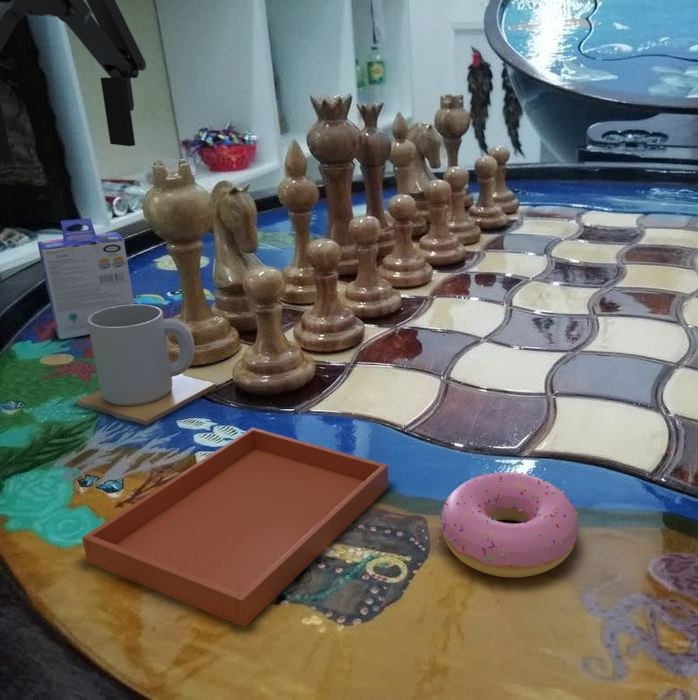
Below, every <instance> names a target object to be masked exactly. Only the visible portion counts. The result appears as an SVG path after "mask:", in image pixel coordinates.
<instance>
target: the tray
mask: <svg viewBox="0 0 698 700" xmlns="http://www.w3.org/2000/svg"><path fill="white" fill-rule="evenodd" d="M388 488H389V465H388V464H386V463H382V462H377V461H374V460H371V459H367V458H363V457H359V456H356V455H353V454H350V453H346V452H342V451H338V450H335V449H331V448H328V447H325V446H320V445H317V444H313V443H310V442H307V441H303V440H299V439H295V438H292V437H288V436H284V435H283V434H282V435H280V434H278V433H275V432H270V431H266V430H265V429H260V428H256V427H250V428H249V429H248V430H246V431H245V432H243V433H241V434H240V435H238V436H237V437H235V438H233V439H232V440H231V441H229V442H228V443H226V444H224V445H223V446H221V447H219V448H218V449H216V450H215V451H213V452H212V453H210V454H208V455H207V456H205V457H204V458H203V459H201V460H199V461H198V462H196V463H195V464H193V465H191V466H190V467H189V468H187V469H186V470H184V471H182V472H181V473H179V474H178V475H176V476H174V477H173V478H171V479H170V480H168V481H167V482H166V483H164V484H162V485H160V486H159V487H158V488H156V489H155V490H153V491H151V492H150V493H148V494H147V495H145V496H144V497H141V499H139V500H137V501H136V502H134V503H132V504H131V505H130V506H128V507H127V508H125V509H123V510H122V511H119V513H118V514H116V515H114V516H113V517H111V518H110V519H108V520H106V521H105V522H103V523H102V524H100V525H99V526H97V527H96V528H94V529H92V530H91V531H90V532H88V533H86V534H85V535H83V536H82V537H81V539H82V544H83V549H84V554H85V558H86V563H87V564H90V565H93V566H96V567H97V568H100V569H103V570H104V571H107V572H110V573H113V574H115V575H117V576H120V577H122V578H125V579H127V580H129V581H132V582H134V583H137V584H138V585H141V586H144V587H146V588H149V589H151V590H154V591H156V592H159V593H161V594H163V595H165V596H168V597H170V598H173V599H175V600H178V601H181V602H183V603H186V604H188V605H190V606H193V607H195V608H197V609H199V610H203V611H205V612H207V613H209V614H212V615H214V616H216V617H219V618H222V619H224V620H227V621H229V622H231V623H234V624H237V625H239V626H242V627H244V628H246V627H247V626H249V624H250V623H251V622H253V620H254V619H255V618H257V616H258V615H259V614H260V613H262V611H264V610H265V609H266V608H267V607H268V605H269V604H271V603H272V602H273V600H275V599H276V597H278V596H279V595H280V594H281V593H282V592H283V591H284V590H285V589H286V588H287V587H288V586H289V585H290V584H291V583H292V582H293V581H294V580H296V578H297V577H298V576H299V575H301V573H302V572H304V570H306V568H307V567H309V565H310V564H312V562H313V561H315V560H316V558H318V557H319V556H320V555H321V554H322V553H323V552H324V551H325V550H326V549H327V548H328V547H329V546H331V544H332V543H333V542H334V541H335V540H336V539H337V538H338V537H339V536H340V535H341V534H342V533H343V532H344V531H345V530H346V529H347V528H348V527H349V526H351V524H352V523H353V522H354V521H356V520H357V518H358V517H360V515H362V514H363V513H364V511H366V510H367V508H369V507H370V506H371V505H372V504H373V503H374V502H375V501H376V500H377V499H378V498H379V497H380V496H381V495H382V494H383V493H384V492H385V491H386V490H387V489H388Z"/></svg>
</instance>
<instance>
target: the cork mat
mask: <svg viewBox="0 0 698 700" xmlns="http://www.w3.org/2000/svg"><path fill="white" fill-rule="evenodd" d="M216 388H217V387H216V383H215V382H210V381H207V380H204V379H203V380H202V379H200V378H195V377H191V376H188V375H184V374H179V375H176V376H172V388H171V390H170V391H169V393H168V394H167V395H166V396H165V397H163V398H161V399H159V400H157V401H154V402H151V403H147V404H143V405H136V406H118V405H114V404H110V403H109V402H107V401H106V400H105V399H104V398H103V397H102V395H101V391H100V389H97V390H95V391H93V392H92V393H89V394H87V395H85V396H83V397H80V398H78V399H76V404H77V406H80V407H82V408H86V409H89V410H93V411H96V412H100V413H103V414H107V415H110V416H113V417H116V418H120V419H124V420H127V421H129V422H133V423H137V424H139V425H143V426H145V427H146V426H149V425H151V424H152V423H154V422H156V421H158V420H160V419H161V418H163V417H166V416H167V415H169V414H171V413H173V412H174V411H176V410H178V409H180V408H182V407H184V406H186V405H188V404H189V403H191V402H193V401H195V400H197V399H198V398H200V397H202V396H204V395H206V394H207V393H210V392H211V391H214V390H215V389H216Z"/></svg>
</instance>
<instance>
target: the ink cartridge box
mask: <svg viewBox="0 0 698 700" xmlns="http://www.w3.org/2000/svg"><path fill="white" fill-rule="evenodd" d="M76 225H77V226H78V225H81V226H86V227H87V229H81V230H72V231H70V230H68V228H70V227H72V226H73V227H74V226H76ZM60 226H61V231H62V238H57V239H56V238H55V239H48V240H41V241H40V240H39V241H37V247H38V252H39V258H40V261H41V262H40V263H41V267H42V271H43V277H44V281H45V286H46V290H47V293H48V294H47V295H48V298H49V302H50V307H51V313H52V317H53V322H54V328H55V329H54V330H55V332H56V335H57V338H58V340H66V339H71V338H77V337H78V338H79V337H83V336H88V335H89V336H90V332H89V327H88V321H87V320H88V317H89V316H90V315H91V314H93V313H95V312H97V311H100V310H103V309H106V308H110V307H115V306H121V305H131V304H135V300H134V293H133V287H132V282H131V276H130V269H129V263H128V256H127V249H126V243H125V238H124V237H122V236H121V235H120V234H119V233H118V232H116V231H115V232H106V233H98V234H97V233H96V231H95V228H94V224H93V222H92V218H91V217H89V218H79V219H78V218H77V219H66V220H65V219H64V220H60Z"/></svg>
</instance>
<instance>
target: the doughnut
mask: <svg viewBox="0 0 698 700" xmlns="http://www.w3.org/2000/svg"><path fill="white" fill-rule="evenodd" d="M552 483H553V482H552V481H550V480H548V481H546V480H545V479H542V478H540V477H536V476H533V475H531V474H530V473H529V474H525V473H524V472H523V471H522V472H517V470H514V472H507V471H505V472H502V471H501V472H500V471H497V472H495V471H493V472H491V473H486V474H480V475H477V476H476V477H473V478H471V479H468V480H467V481H464V482H463V483H461V484H458V485H456V486H457V487H456V488H455V489H454V490H453V492H449V495H448V497H447V496H446V497H445V501H443V502H442V504H443V506H442V509H441V515H440V517H439V521H438V523H439V524H440V528H441V531H442V534H443V538H444V541H445V543H446V545H447V546H448V548H449V550H450V552H451V553H452V554H454V556H455V557H457V558H458V560H460V561H461V562H462V563H464V564H465V565H466V566H468V567H470V568H472V569H473V570H476V571H478V572H481V573H484V574H486V575H491V576H495V577H502V578H525V577H532V576H536V575H540V574H543V573H546V572H548V571H550V570H552V569H555V567H557V566H559V565H560V564H561V563H562V562H564V561H565V560H566V558H568V557H569V555H570V554H571V552H572V550H573V549H574V546H575V544H576V541H577V540H578V539H579V533H580V522H579V517H578V514H579V511H578V510H577V511H576V509H575V506H574V505H573V503H572V501H571V500H570V499H569V498H568V496H567V495H566V492H565V490H561V489H560V488H558V487H557V486H556V485H554V484H552ZM503 521H515V522H518V523H508V522H503Z"/></svg>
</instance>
